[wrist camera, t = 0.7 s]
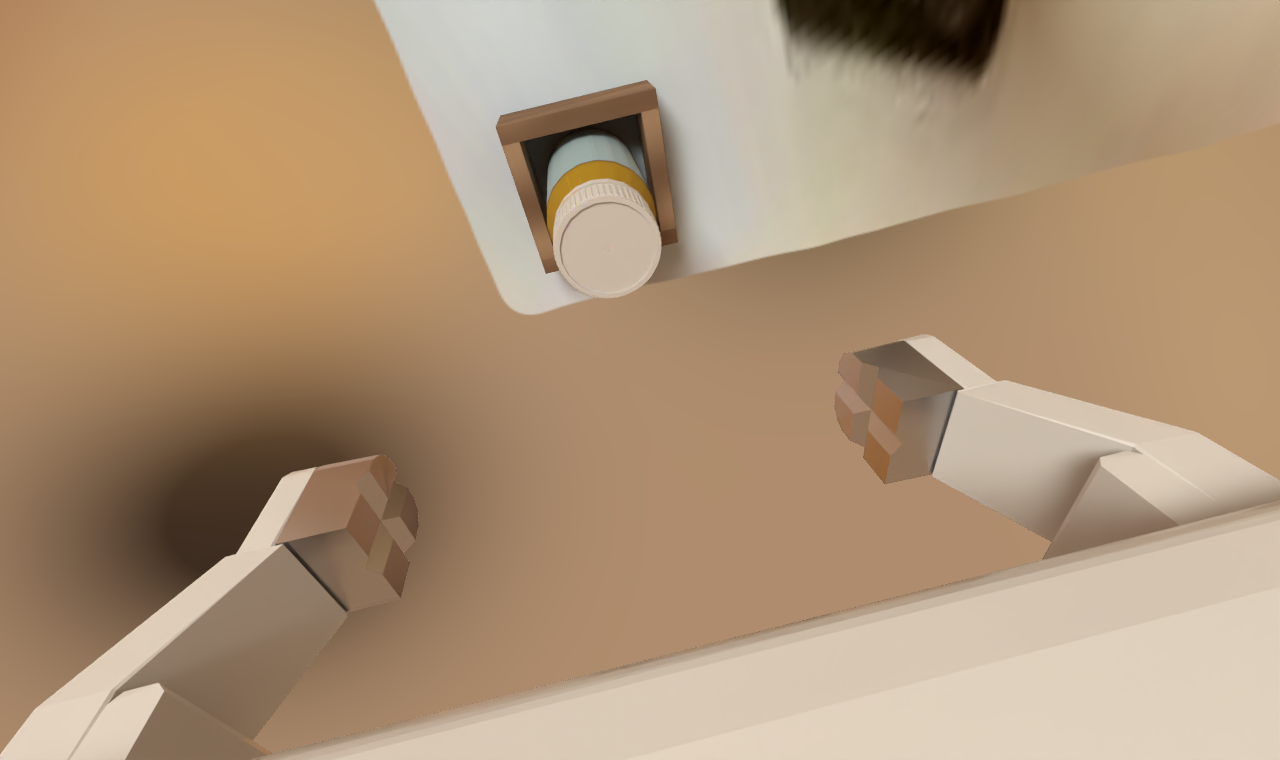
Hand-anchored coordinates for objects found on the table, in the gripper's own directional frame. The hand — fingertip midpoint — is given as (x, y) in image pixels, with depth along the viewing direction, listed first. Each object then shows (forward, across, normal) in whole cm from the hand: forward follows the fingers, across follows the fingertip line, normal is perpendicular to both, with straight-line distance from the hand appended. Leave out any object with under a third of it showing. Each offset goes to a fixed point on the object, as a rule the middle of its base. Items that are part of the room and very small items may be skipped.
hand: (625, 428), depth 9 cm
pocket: (+35, -2, +3) cm, 35 cm away
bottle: (+35, -2, +3) cm, 35 cm away
